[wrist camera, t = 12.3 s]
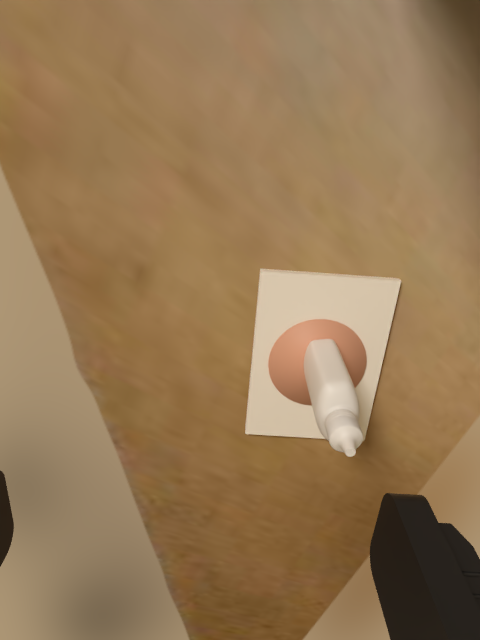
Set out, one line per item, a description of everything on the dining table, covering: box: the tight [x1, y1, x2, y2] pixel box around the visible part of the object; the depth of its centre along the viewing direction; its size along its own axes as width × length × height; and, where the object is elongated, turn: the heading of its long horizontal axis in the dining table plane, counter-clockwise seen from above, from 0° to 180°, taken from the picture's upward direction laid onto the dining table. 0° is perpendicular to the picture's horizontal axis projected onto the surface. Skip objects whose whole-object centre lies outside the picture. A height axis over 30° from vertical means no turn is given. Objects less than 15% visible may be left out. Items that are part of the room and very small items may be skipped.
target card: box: [245, 269, 401, 441], centre depth 42 cm, size 17×12×1 cm
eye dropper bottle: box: [304, 339, 363, 457], centre depth 36 cm, size 4×6×12 cm
